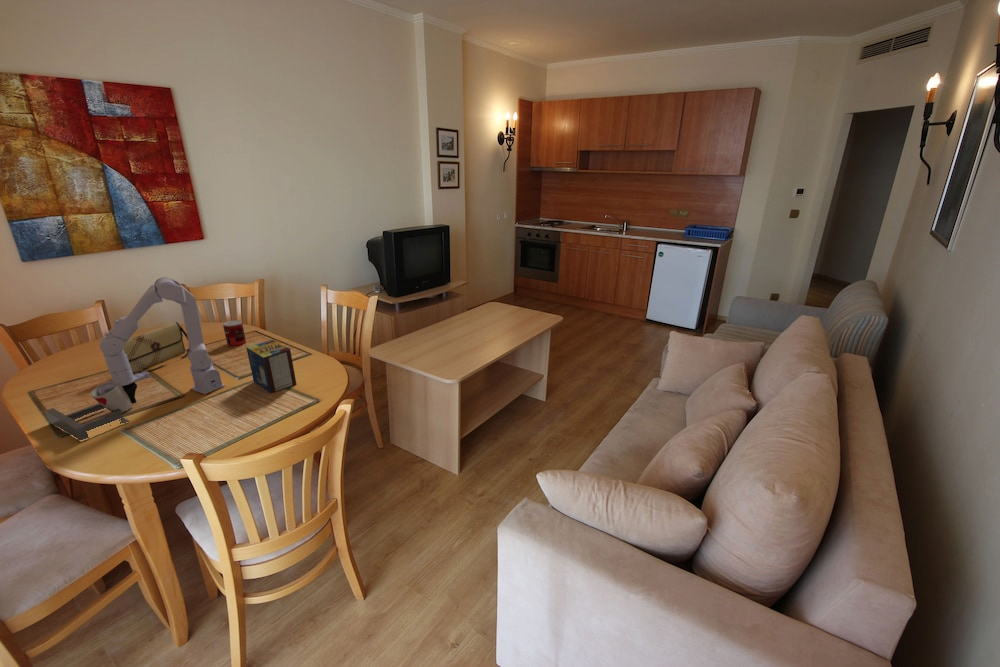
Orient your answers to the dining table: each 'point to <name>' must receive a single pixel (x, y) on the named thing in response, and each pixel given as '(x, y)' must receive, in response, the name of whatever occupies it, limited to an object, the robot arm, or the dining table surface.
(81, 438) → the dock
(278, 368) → the protein box
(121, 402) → the cup
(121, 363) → the robot arm
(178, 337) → the clutch purse
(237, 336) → the canned food
